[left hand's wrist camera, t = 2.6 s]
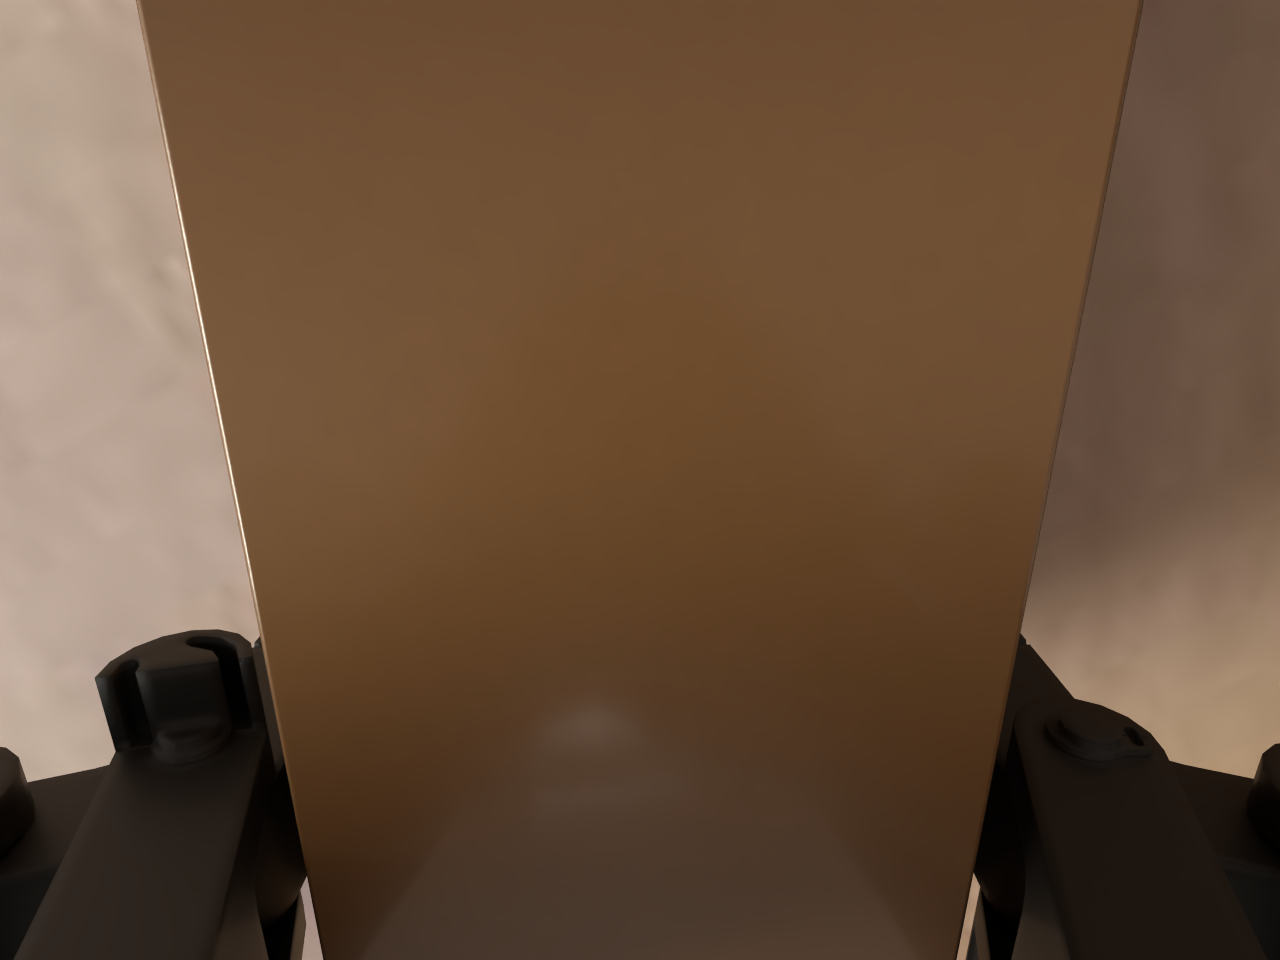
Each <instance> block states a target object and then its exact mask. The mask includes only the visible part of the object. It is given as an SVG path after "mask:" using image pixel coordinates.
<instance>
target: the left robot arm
mask: <svg viewBox="0 0 1280 960" xmlns="http://www.w3.org/2000/svg"><path fill="white" fill-rule="evenodd" d="M95 681H96V684H97V688H98V691H99V695H100V698H101V702H102V705H103V709H104V712H105V716H106V719H107V723H108V726H109V730H110V733H111V737H112V740H113V744H114V747H115V750H116V752H115V754H114V756H113V758H112V761H111V763H110V765H107V766H103V767H99V768H96V769H91V770H86V771H81V772H76V773H71V774H66V775H62V776H57V777H52V778H47V779H42V780H37V781H32V782H27V780H26V777H25V774H24V772H23V769H22V766H21V763H20V760H19V757H17V756H16V755H15V754H14V753H12V752H11V751H10V750H8V749H7V748H4V747H0V960H302V953H303V945H304V937H305V929H306V920H305V913H304V906H303V901H302V896H301V891H300V889H301V887H302V885H303V883H304V881H305V879H306V876H307V873H306V868H305V862H304V857H303V852H302V847H301V842H300V837H299V832H298V827H297V822H296V816H295V811H294V806H293V801H292V796H291V791H290V786H289V781H288V775H287V770H286V765H285V760H284V755H283V750H282V745H281V740H280V735H279V729H278V724H277V719H276V714H275V709H274V704H273V699H272V694H271V688H270V683H269V678H268V673H267V668H266V663H265V658H264V653H263V648H262V642H261V637H259V638H258V639H257V640H256V642H255V646H254V648H252V647H251V643H250V642H249V641H247V640H246V639H245V638H244V637H242V636H241V635H240V634H238V633H233V632H228V631H223V630H218V629H217V630H191V631H187V632H182V633H177V634H173V635H168V636H163V637H160V638H158V639H155V640H152V641H150V642H147V643H144V644H142V645H139V646H137V647H134V648H132V649H131V650H129V651H127V652H126V653H124V654H122V655H121V656H119V657H117V658H116V659H114V660H112V661H111V662H109V663H108V665H107V666H106V667H105V668H104V669H103V670H102V671H101V672H100V673H99V674H98V675H97V676H96V677H95ZM974 874H975V876H976V879H977V881H978V883H979V885H980V891H979V896H978V901H977V906H976V911H975V916H974V920H973V925H972V930H971V935H970V940H969V945H968V950H967V955H966V960H1280V743H1279V744H1274V745H1273V746H1272V747H1271V748H1269V749H1268V750H1267V751H1265V752H1264V753H1263V754H1262V757H1261V760H1260V763H1259V766H1258V769H1257V771H1256V774H1255V777H1254V779H1251V778H1247V777H1242V776H1237V775H1232V774H1227V773H1222V772H1217V771H1212V770H1207V769H1202V768H1197V767H1193V766H1188V765H1183V764H1180V763H1176V762H1172V761H1169V759H1168V757H1167V755H1166V753H1165V751H1164V750H1163V748H1162V747H1161V746H1160V745H1159V743H1158V742H1157V741H1156V740H1155V738H1154V737H1153V736H1152V734H1151V733H1150V732H1148V731H1147V730H1145V729H1144V728H1143V727H1141V726H1140V725H1138V724H1137V723H1135V722H1134V721H1133V720H1131V719H1130V718H1128V717H1126V716H1124V715H1122V714H1120V713H1117V712H1115V711H1113V710H1111V709H1108V708H1106V707H1104V706H1102V705H1098V704H1094V703H1090V702H1086V701H1082V700H1078V699H1074V698H1073V696H1072V695H1071V694H1070V693H1069V692H1068V690H1067V689H1066V688H1065V687H1064V685H1063V684H1062V683H1061V682H1060V681H1059V679H1058V678H1057V677H1056V676H1055V675H1054V673H1053V672H1052V671H1051V670H1050V668H1049V667H1048V666H1047V665H1046V664H1045V662H1044V661H1043V660H1042V659H1041V658H1040V656H1039V655H1038V654H1037V653H1036V651H1035V650H1034V649H1033V648H1032V647H1031V645H1026V639H1025V638H1024V637H1023V636H1022V634H1021V633H1020V636H1019V642H1018V647H1017V652H1016V657H1015V662H1014V667H1013V672H1012V677H1011V683H1010V688H1009V693H1008V698H1007V703H1006V708H1005V713H1004V718H1003V724H1002V729H1001V734H1000V739H999V744H998V749H997V754H996V759H995V764H994V770H993V775H992V780H991V785H990V790H989V795H988V800H987V805H986V811H985V816H984V821H983V826H982V831H981V836H980V841H979V846H978V851H977V857H976V862H975V867H974Z"/></svg>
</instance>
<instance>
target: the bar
mask: <svg viewBox="0 0 1280 960" xmlns="http://www.w3.org/2000/svg"><path fill="white" fill-rule="evenodd" d="M1143 2H1144V0H136V3H137V8H138V13H139V18H140V23H141V29H142V34H143V39H144V44H145V49H146V54H147V59H148V64H149V69H150V75H151V80H152V85H153V90H154V95H155V100H156V105H157V110H158V115H159V121H160V126H161V131H162V136H163V141H164V146H165V151H166V156H167V162H168V167H169V172H170V177H171V182H172V187H173V192H174V197H175V202H176V208H177V213H178V218H179V223H180V228H181V233H182V238H183V243H184V249H185V254H186V259H187V264H188V269H189V274H190V279H191V284H192V289H193V295H194V300H195V305H196V310H197V315H198V320H199V325H200V330H201V335H202V341H203V346H204V351H205V356H206V361H207V366H208V371H209V376H210V382H211V387H212V392H213V397H214V402H215V407H216V412H217V417H218V422H219V428H220V433H221V438H222V443H223V448H224V453H225V458H226V463H227V468H228V474H229V479H230V484H231V489H232V494H233V499H234V504H235V509H236V515H237V520H238V525H239V530H240V535H241V540H242V545H243V550H244V555H245V561H246V566H247V571H248V576H249V581H250V586H251V591H252V596H253V602H254V607H255V612H256V617H257V622H258V627H259V632H260V637H261V642H262V648H263V653H264V658H265V663H266V668H267V673H268V678H269V683H270V688H271V694H272V699H273V704H274V709H275V714H276V719H277V724H278V729H279V735H280V740H281V745H282V750H283V755H284V760H285V765H286V770H287V775H288V781H289V786H290V791H291V796H292V801H293V806H294V811H295V816H296V822H297V827H298V832H299V837H300V842H301V847H302V852H303V857H304V862H305V868H306V873H307V878H308V883H309V888H310V893H311V898H312V903H313V908H314V914H315V919H316V924H317V929H318V934H319V939H320V944H321V949H322V955H323V960H956V959H957V954H958V949H959V944H960V938H961V933H962V928H963V923H964V918H965V913H966V908H967V903H968V898H969V892H970V887H971V882H972V877H973V872H974V867H975V862H976V857H977V851H978V846H979V841H980V836H981V831H982V826H983V821H984V816H985V811H986V805H987V800H988V795H989V790H990V785H991V780H992V775H993V770H994V764H995V759H996V754H997V749H998V744H999V739H1000V734H1001V729H1002V724H1003V718H1004V713H1005V708H1006V703H1007V698H1008V693H1009V688H1010V683H1011V677H1012V672H1013V667H1014V662H1015V657H1016V652H1017V647H1018V642H1019V636H1020V631H1021V626H1022V621H1023V616H1024V611H1025V606H1026V601H1027V596H1028V590H1029V585H1030V580H1031V575H1032V570H1033V565H1034V560H1035V555H1036V549H1037V544H1038V539H1039V534H1040V529H1041V524H1042V519H1043V514H1044V509H1045V503H1046V498H1047V493H1048V488H1049V483H1050V478H1051V473H1052V468H1053V462H1054V457H1055V452H1056V447H1057V442H1058V437H1059V432H1060V427H1061V422H1062V416H1063V411H1064V406H1065V401H1066V396H1067V391H1068V386H1069V381H1070V375H1071V370H1072V365H1073V360H1074V355H1075V350H1076V345H1077V340H1078V334H1079V329H1080V324H1081V319H1082V314H1083V309H1084V304H1085V299H1086V294H1087V288H1088V283H1089V278H1090V273H1091V268H1092V263H1093V258H1094V253H1095V247H1096V242H1097V237H1098V232H1099V227H1100V222H1101V217H1102V212H1103V207H1104V201H1105V196H1106V191H1107V186H1108V181H1109V176H1110V171H1111V166H1112V160H1113V155H1114V150H1115V145H1116V140H1117V135H1118V130H1119V125H1120V120H1121V114H1122V109H1123V104H1124V99H1125V94H1126V89H1127V84H1128V79H1129V73H1130V68H1131V63H1132V58H1133V53H1134V48H1135V43H1136V38H1137V32H1138V27H1139V22H1140V17H1141V12H1142V7H1143Z"/></svg>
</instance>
